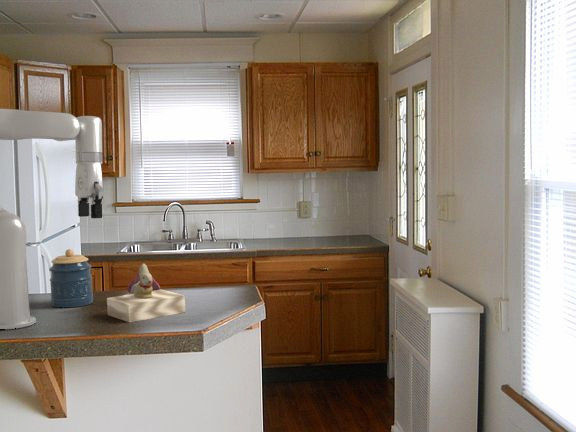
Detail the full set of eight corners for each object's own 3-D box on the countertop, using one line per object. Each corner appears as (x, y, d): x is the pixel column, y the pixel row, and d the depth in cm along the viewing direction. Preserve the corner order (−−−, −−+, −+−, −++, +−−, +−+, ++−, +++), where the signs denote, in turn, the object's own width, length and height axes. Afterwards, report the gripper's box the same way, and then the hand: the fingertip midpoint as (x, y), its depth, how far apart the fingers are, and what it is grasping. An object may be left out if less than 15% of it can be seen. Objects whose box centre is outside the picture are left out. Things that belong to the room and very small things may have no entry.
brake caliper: (170, 292, 234) (158, 266, 226) (158, 318, 226) (146, 292, 219) (138, 291, 237) (125, 265, 230) (126, 317, 230) (112, 292, 222)
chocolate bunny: (133, 299, 210) (132, 265, 209) (134, 294, 217) (132, 261, 216) (153, 298, 210) (151, 264, 210) (153, 293, 218) (151, 260, 217)
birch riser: (129, 322, 203) (128, 304, 203) (107, 314, 214) (106, 298, 214) (185, 312, 214) (184, 295, 214) (162, 305, 225) (161, 289, 225)
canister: (67, 310, 223) (64, 252, 222) (42, 305, 231) (39, 250, 230) (102, 302, 233) (99, 247, 232) (76, 298, 241) (73, 245, 240)
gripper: (65, 159, 217) (67, 216, 218) (88, 158, 204) (89, 219, 205) (90, 159, 222) (91, 215, 223) (113, 158, 208) (114, 218, 209)
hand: (90, 217), depth 214 cm, fingers open, 9 cm apart
